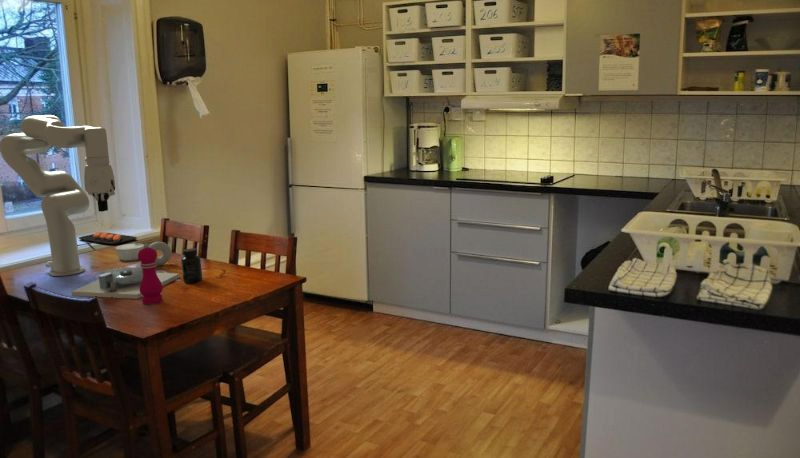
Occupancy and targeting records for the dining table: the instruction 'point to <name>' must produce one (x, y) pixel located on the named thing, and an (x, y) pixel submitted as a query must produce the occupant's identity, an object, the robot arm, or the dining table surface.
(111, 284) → the steel dowel
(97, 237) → the sushi plate
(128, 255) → the ramekin
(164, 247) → the donut
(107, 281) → the flange plate
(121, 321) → the dining table surface
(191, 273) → the supplement bottle
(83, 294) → the base board
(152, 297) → the pepper mill
